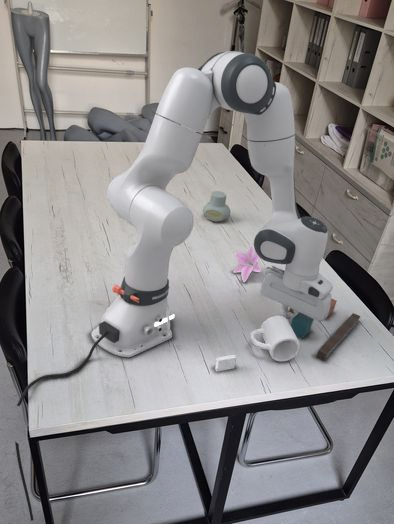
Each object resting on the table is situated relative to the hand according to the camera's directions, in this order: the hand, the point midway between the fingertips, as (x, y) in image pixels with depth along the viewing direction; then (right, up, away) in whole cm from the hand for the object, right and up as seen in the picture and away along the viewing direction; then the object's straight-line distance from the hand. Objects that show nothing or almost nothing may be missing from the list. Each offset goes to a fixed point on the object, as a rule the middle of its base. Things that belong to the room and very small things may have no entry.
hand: (288, 319), depth 140 cm
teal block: (+3, -4, 0) cm, 5 cm away
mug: (-7, -9, -8) cm, 14 cm away
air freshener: (-19, +43, +53) cm, 71 cm away
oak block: (+4, +1, +6) cm, 7 cm away
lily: (-10, +16, +22) cm, 29 cm away
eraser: (-19, -14, -16) cm, 28 cm away
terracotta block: (+12, +2, +8) cm, 15 cm away
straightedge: (+14, -6, -1) cm, 15 cm away
